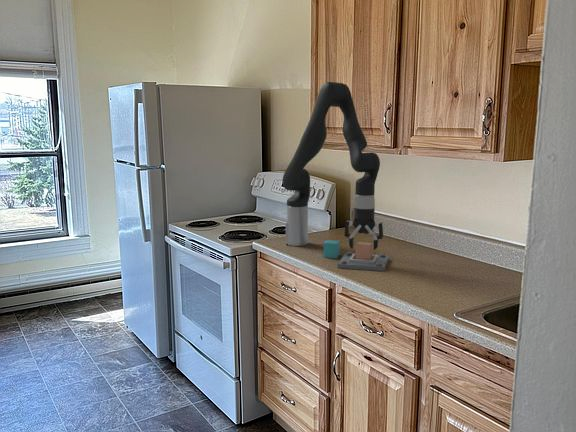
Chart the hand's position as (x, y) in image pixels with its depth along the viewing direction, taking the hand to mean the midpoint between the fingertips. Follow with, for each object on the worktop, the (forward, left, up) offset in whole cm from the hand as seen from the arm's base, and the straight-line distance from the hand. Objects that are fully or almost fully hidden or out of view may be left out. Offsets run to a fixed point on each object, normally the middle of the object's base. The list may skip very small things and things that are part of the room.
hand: (363, 248), depth 201 cm
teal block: (-14, +8, -6) cm, 17 cm away
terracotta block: (0, 0, -4) cm, 4 cm away
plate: (0, 0, -6) cm, 6 cm away
